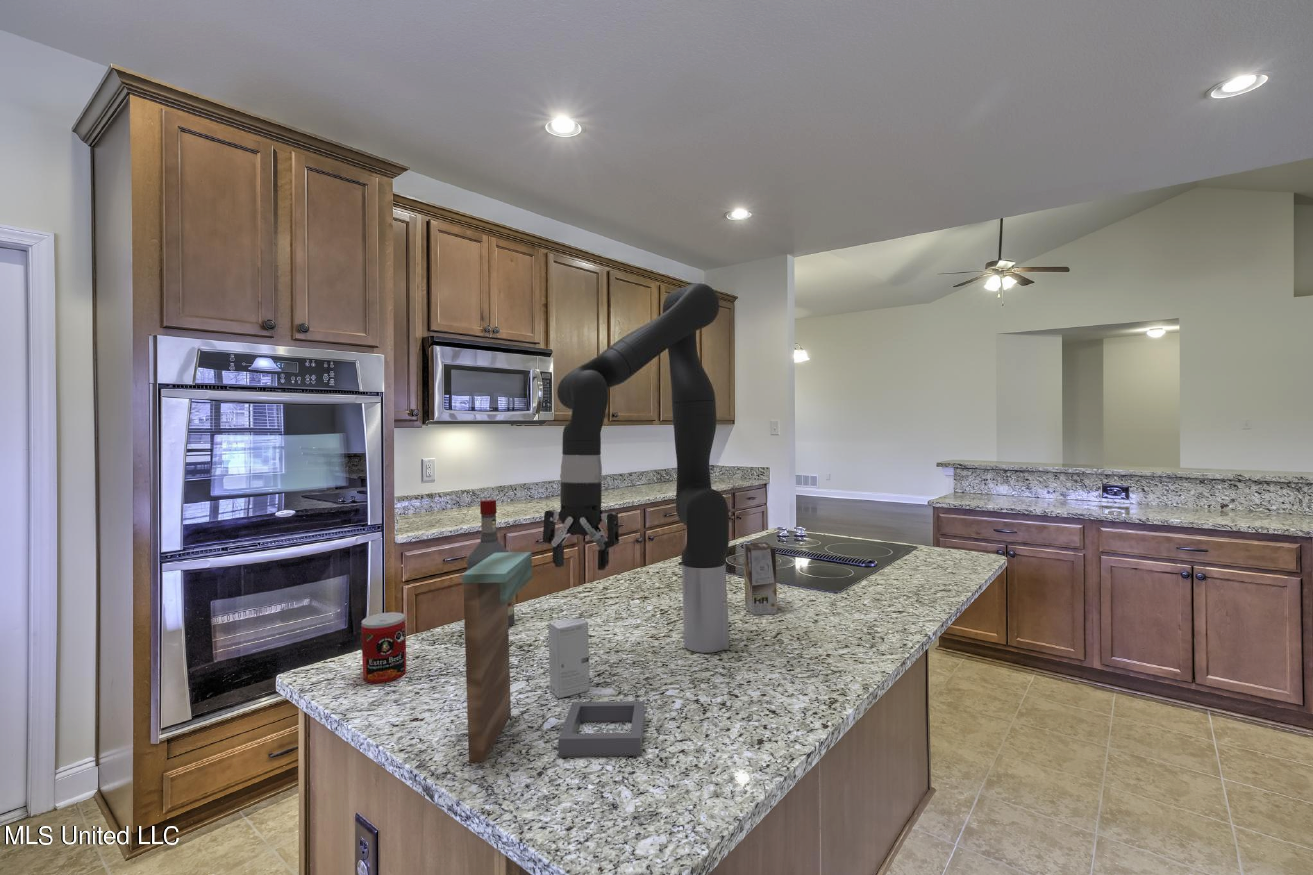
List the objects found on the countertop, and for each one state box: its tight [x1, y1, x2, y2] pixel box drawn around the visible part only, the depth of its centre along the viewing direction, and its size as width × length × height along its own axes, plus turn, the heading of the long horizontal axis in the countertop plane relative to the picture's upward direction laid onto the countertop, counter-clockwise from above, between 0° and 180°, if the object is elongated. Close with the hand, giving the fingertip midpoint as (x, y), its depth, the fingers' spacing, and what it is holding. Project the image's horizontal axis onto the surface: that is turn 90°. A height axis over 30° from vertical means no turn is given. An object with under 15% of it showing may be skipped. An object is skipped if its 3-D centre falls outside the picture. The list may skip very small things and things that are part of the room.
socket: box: [557, 700, 646, 758], centre depth 89 cm, size 12×12×2 cm
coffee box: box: [742, 541, 778, 616], centre depth 150 cm, size 9×6×16 cm
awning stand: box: [461, 551, 533, 764], centre depth 90 cm, size 6×15×26 cm, turn 178°
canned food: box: [360, 611, 408, 684], centre depth 115 cm, size 8×8×11 cm
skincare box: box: [547, 616, 590, 699], centre depth 105 cm, size 6×4×12 cm
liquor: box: [466, 499, 516, 628], centre depth 142 cm, size 9×9×30 cm
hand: (580, 568), depth 110 cm, fingers open, 8 cm apart
